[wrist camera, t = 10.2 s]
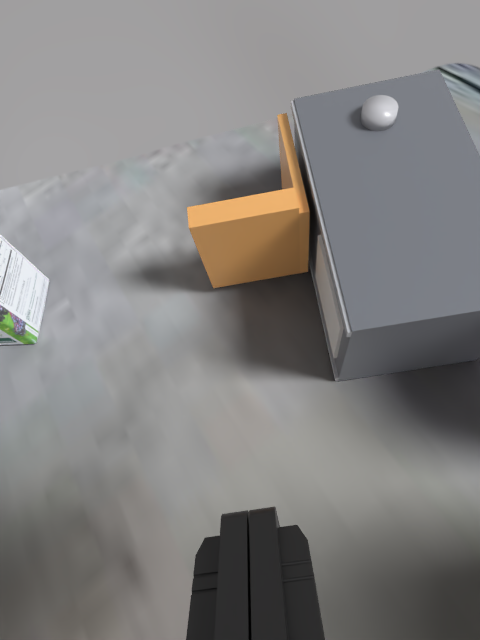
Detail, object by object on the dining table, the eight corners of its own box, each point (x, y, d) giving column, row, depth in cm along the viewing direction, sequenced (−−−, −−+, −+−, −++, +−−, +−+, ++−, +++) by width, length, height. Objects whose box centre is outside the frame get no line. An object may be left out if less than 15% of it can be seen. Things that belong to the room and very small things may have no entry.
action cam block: (475, 360, 28) (556, 291, 19) (335, 381, 29) (349, 325, 20) (402, 161, 35) (437, 44, 26) (290, 182, 36) (287, 75, 27)
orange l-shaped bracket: (308, 271, 31) (309, 205, 24) (213, 288, 32) (188, 228, 25) (289, 185, 34) (286, 106, 28) (203, 202, 35) (180, 127, 28)
